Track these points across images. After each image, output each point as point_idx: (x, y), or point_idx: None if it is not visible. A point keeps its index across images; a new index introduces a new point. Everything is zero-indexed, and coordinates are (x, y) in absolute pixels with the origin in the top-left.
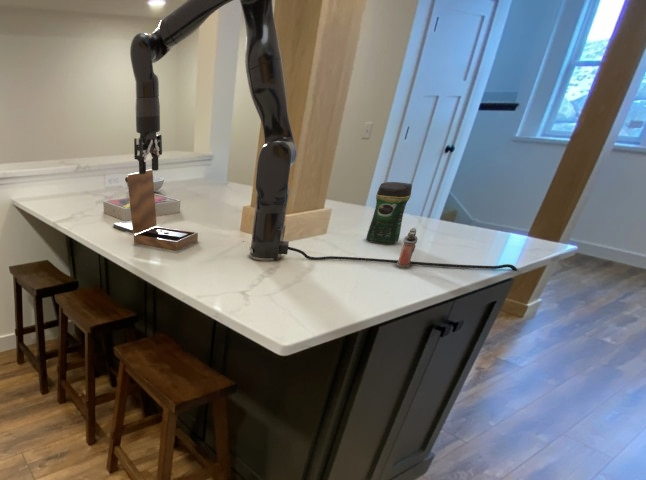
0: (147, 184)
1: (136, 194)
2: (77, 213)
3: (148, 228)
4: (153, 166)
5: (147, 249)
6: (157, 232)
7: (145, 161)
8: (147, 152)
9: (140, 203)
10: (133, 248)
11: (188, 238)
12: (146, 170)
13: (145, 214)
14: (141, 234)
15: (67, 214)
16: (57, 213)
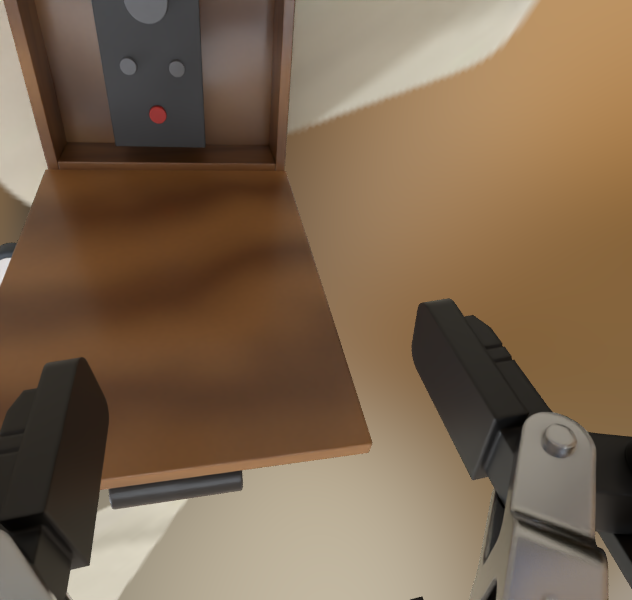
0: None
1: (257, 314)
2: None
3: (12, 247)
4: (96, 435)
5: (312, 32)
6: (182, 61)
7: (504, 414)
8: (578, 545)
9: (210, 267)
10: (327, 117)
11: None
12: None
13: (160, 218)
14: (222, 158)
15: (71, 571)
16: (86, 587)
